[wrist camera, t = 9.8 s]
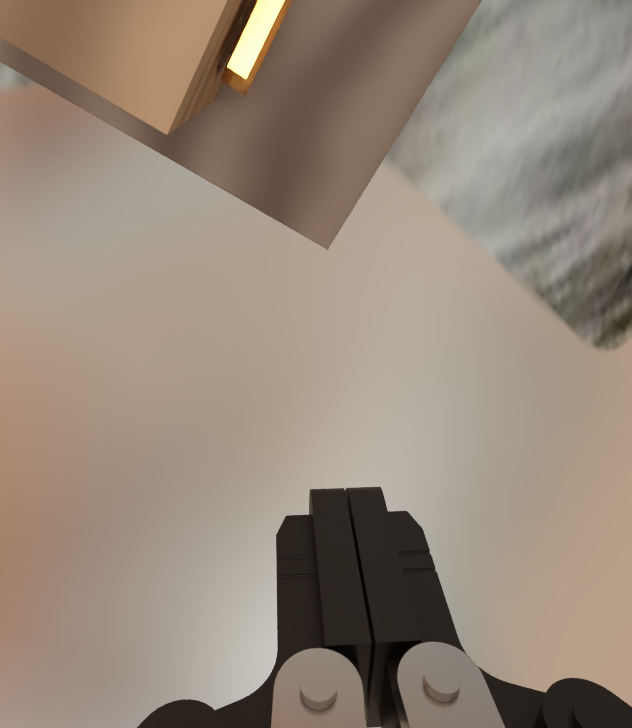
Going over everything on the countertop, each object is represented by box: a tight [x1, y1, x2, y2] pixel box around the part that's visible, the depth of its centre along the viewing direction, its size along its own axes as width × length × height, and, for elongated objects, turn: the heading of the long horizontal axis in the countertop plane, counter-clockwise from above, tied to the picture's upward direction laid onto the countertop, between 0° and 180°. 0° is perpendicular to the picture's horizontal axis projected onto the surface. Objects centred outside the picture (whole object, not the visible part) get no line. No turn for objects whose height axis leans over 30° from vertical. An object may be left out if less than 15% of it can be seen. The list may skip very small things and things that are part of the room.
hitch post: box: [0, 0, 482, 249], centre depth 23 cm, size 22×16×17 cm
